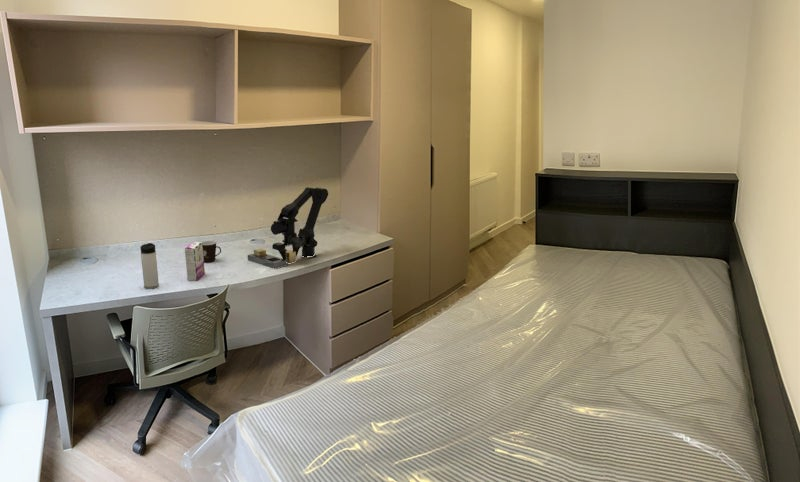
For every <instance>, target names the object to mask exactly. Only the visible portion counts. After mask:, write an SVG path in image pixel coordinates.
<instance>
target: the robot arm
mask: <svg viewBox="0 0 800 482" xmlns="http://www.w3.org/2000/svg"><path fill="white" fill-rule="evenodd" d="M328 196H329V191H328V189H326V188H322V187H317V186H316V187H315V188H314V187H309V186H306V187H305V188H304V190H303V191H302V192H301V193H300V194H299V195H298V196H297V197H296V198H295V199H294V200H293V201H292V202H291V203H287V204H286V205H285V206H283V207H282V208H281V210H280V213H279V215H278V218H277V220H274V221H272V224H271V227H270V231H271V233H272V235H276V236H277V235H280V234H281V235H282V236H283V239H282V242H275V243H272V246H271V247H272V248H271V249H272V250H275V251H278V253H279V255H280V256H281V259H284V260H286V251H288V249H286V247H290V246H292V251H295V252H296V258H297V257H298V253H299V251H300V249H301V248H302V249H301V255H302V256H304V257H307V256H313V255H314V254H315V255H316V253H315V249H316V247H317V246H318V241H317V240H316V239H315V231H314V230H315V225H316V222H317V219H318V216H319V213H320V210H321V208H322V205H323V204H324V203H325V202H326V200H327V199H328ZM310 198H311V200H312V203H311V207H310V209H309V213H308V215H307V219H306V222H305V224H304V227H302V228H299V230H298V234H297V232H296V231H295V229H296V227H295V226H296V224H295V223H296V222H298V219H297V218H296V217H297V216H298V215H299V210H301V208H302V207H303V206H304V205H305V204H306V203H307V202H308V201H309V200H310ZM304 257H303V258H304Z"/></svg>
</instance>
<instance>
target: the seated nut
mask: <svg viewBox="0 0 800 482" xmlns="http://www.w3.org/2000/svg"><path fill="white" fill-rule="evenodd" d="M253 253H254V256H256V257H263V256H266V254H267V249H263V248H258V249H253Z"/></svg>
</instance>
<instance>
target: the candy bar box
mask: <svg viewBox="0 0 800 482" xmlns="http://www.w3.org/2000/svg"><path fill="white" fill-rule="evenodd" d="M202 242H203V241H192V242H191V243H190V244H189V245H186V246H185V248H184V254H185V265H186V275H187V276H186V277H187V281H189V282H193V281H195V282H196V281H199V279H201V278H202V277H203V276H204V275H205V273H206V271H205V270H206V269H205V263H204V258H203V246H202Z"/></svg>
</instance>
